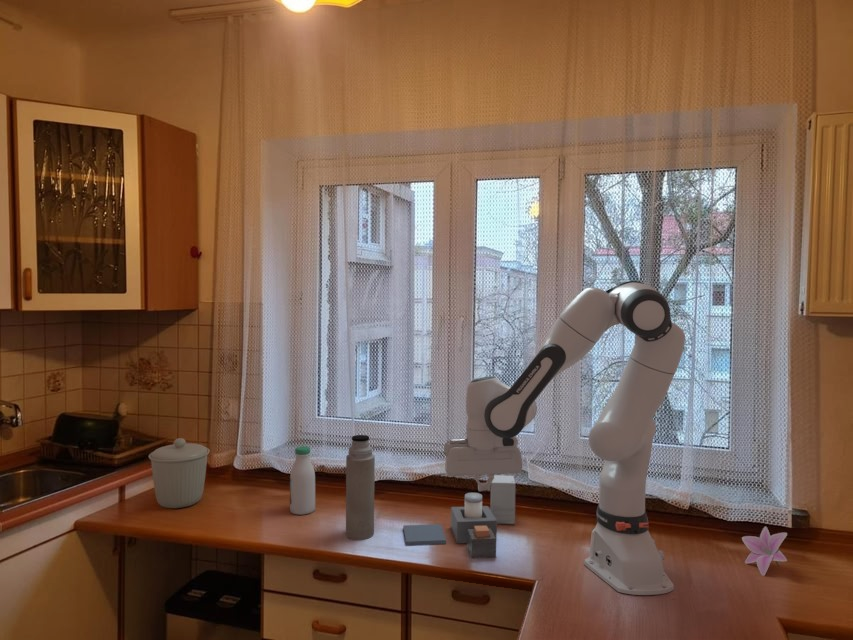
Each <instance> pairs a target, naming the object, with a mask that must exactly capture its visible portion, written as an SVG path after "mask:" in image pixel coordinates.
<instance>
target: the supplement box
mask: <svg viewBox="0 0 853 640" xmlns="http://www.w3.org/2000/svg"><path fill="white" fill-rule="evenodd" d="M489 508H490V510H491V512H492V513H493V515H494V517H495V518H496V520H497V524H499V525H501V524H502V525H503V524H504V525H516V481H515V478H514V475H502V474H501V475H500V474H494V479H493V481H492V483H491V484H490V506H489Z"/></svg>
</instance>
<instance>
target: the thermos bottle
mask: <svg viewBox="0 0 853 640" xmlns="http://www.w3.org/2000/svg"><path fill="white" fill-rule="evenodd" d="M351 440H352V441H351V446H350V447H348V454H347V455H346V457H345V459H346V461H345V462H346V464H345V465H346V466H345V469H346V470H345V486H346V488H345V536H346V537H347V538H349V539H350V540H356V541H357V540H359V541H361V540H362V541H363V540H368V539H370V538H372V537H373V536H374V535H375V469H376V468H375V467H376V466H375V464H376V463H375V460H376V459H375V457H376V456H375V454H373V452H374V451H373V447H372V446H371V445H370V436H369V435H367V434H356V435H353V436H351Z"/></svg>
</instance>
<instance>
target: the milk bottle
mask: <svg viewBox="0 0 853 640" xmlns="http://www.w3.org/2000/svg"><path fill="white" fill-rule="evenodd" d="M294 451H295V455H294V456H295V460H294V462H293V465H292V468H291V470H290V475H289V478H290V479H289V510H290V512H291V514H292V515H297V516H299V515H301V516H302V515H303V516H304V515H308V514H309V515H310V514H311V513H313V512H315V509H316V473H315V468H314V466H313V464H312V461H311V457H310V455H311V447H310V446H307V445H306V446H304V445H303V446H302V445H301V446H297V447H295V449H294Z"/></svg>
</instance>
